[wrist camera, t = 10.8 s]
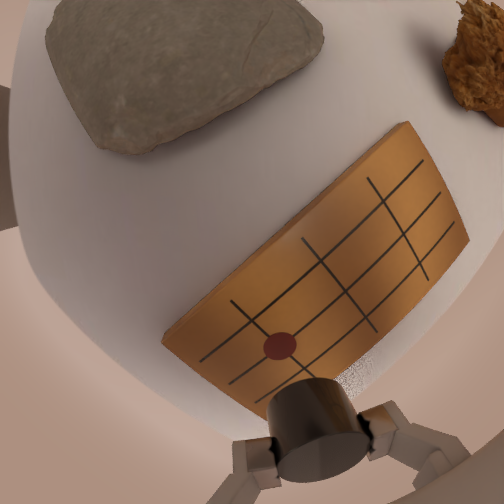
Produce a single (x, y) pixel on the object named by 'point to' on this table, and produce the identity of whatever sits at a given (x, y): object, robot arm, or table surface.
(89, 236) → the table surface
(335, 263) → the game board
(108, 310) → the table surface
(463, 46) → the stuffed squirrel
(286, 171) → the table surface
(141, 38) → the stone
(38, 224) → the table surface
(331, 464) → the dark metallic cylinder
